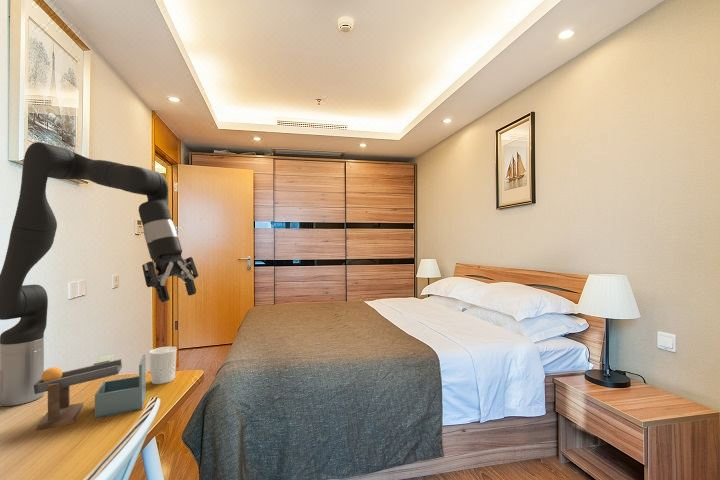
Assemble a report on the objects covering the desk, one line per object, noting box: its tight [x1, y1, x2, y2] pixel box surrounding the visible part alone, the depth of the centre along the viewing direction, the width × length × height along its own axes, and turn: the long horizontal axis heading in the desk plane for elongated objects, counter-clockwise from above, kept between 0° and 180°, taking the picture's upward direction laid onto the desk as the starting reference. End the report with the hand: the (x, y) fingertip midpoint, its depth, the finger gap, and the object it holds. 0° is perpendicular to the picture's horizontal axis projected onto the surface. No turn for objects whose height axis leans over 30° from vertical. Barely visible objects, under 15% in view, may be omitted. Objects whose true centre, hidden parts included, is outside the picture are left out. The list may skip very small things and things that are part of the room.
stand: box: [36, 383, 85, 431], centre depth 89 cm, size 7×10×10 cm
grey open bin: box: [94, 354, 147, 419], centre depth 95 cm, size 10×10×12 cm
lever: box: [33, 353, 123, 394], centre depth 94 cm, size 17×14×3 cm
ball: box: [41, 366, 63, 382], centre depth 88 cm, size 4×4×4 cm
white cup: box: [148, 345, 178, 385], centre depth 113 cm, size 8×8×10 cm
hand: (179, 297), depth 90 cm, fingers open, 8 cm apart
